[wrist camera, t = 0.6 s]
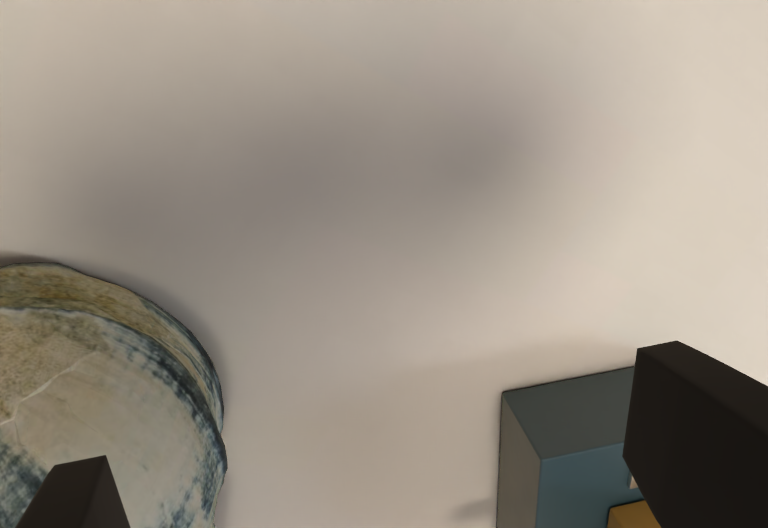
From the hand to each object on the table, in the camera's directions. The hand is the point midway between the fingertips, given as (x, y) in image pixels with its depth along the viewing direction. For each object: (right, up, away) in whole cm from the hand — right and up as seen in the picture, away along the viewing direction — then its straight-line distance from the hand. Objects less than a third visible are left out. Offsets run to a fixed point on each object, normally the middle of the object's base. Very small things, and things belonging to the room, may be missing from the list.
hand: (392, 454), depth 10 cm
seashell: (-8, -2, +10) cm, 13 cm away
